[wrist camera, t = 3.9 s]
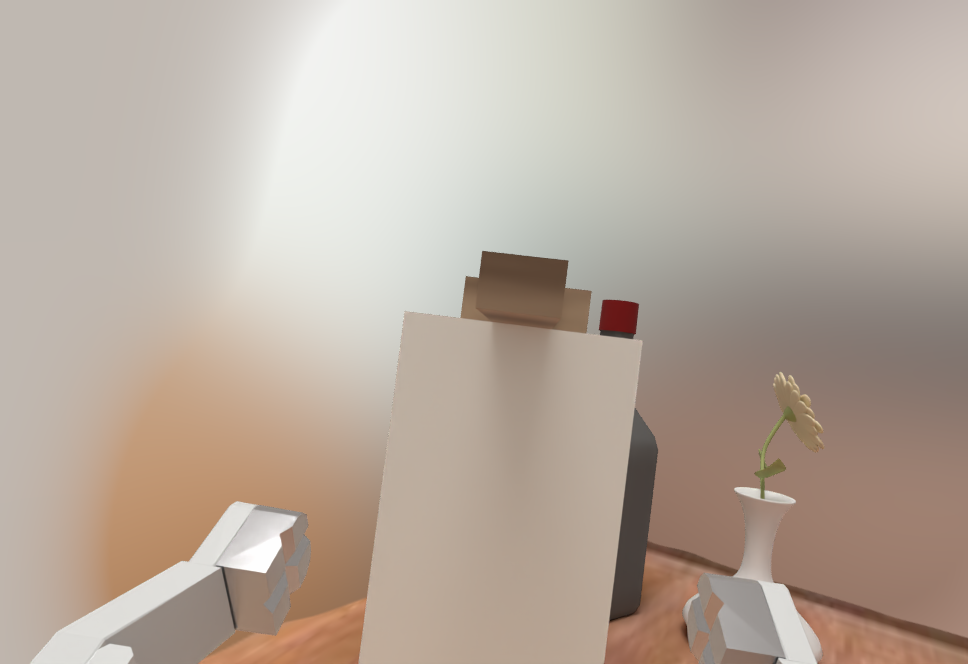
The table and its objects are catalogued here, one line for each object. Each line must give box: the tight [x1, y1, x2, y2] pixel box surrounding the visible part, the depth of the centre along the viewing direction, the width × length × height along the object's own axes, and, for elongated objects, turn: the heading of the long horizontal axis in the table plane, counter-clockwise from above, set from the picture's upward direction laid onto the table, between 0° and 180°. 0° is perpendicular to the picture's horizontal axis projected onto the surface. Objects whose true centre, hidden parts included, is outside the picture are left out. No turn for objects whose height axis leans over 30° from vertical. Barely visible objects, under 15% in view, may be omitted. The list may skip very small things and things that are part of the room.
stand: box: [358, 311, 643, 664], centre depth 38 cm, size 18×12×25 cm, turn 175°
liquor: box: [599, 300, 658, 620], centre depth 58 cm, size 9×9×30 cm
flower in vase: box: [682, 372, 825, 663], centre depth 52 cm, size 13×11×25 cm
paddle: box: [461, 251, 591, 333], centre depth 30 cm, size 20×7×2 cm, turn 175°
